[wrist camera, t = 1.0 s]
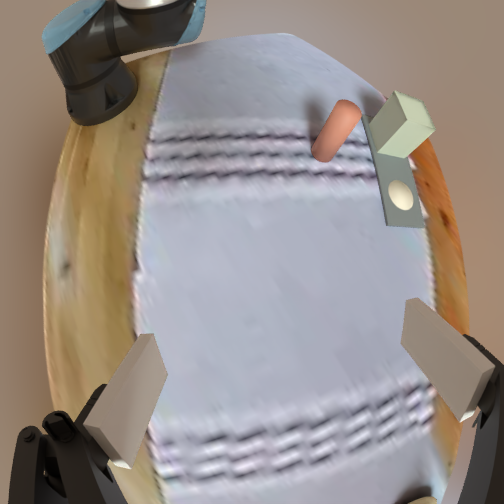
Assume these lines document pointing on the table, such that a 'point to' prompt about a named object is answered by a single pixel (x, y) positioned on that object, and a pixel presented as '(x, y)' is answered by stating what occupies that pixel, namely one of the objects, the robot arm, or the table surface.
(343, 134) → the peg
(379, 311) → the table surface
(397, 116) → the pale green block
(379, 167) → the board
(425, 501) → the handbell
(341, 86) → the table surface
